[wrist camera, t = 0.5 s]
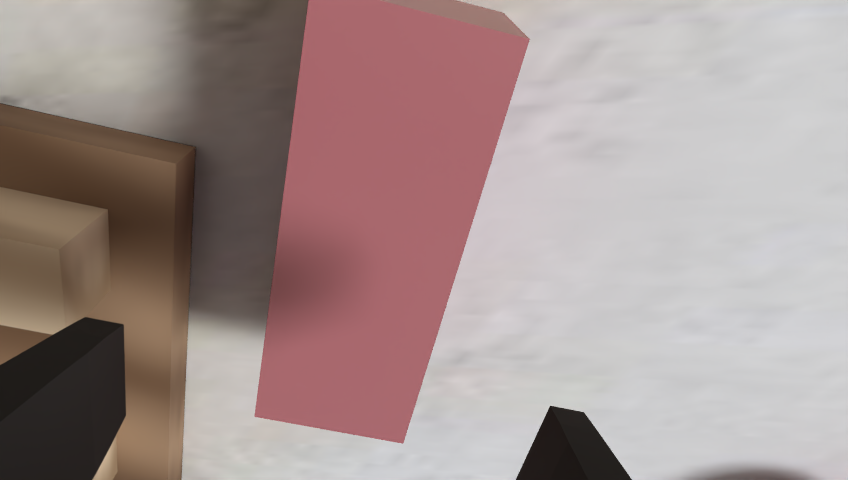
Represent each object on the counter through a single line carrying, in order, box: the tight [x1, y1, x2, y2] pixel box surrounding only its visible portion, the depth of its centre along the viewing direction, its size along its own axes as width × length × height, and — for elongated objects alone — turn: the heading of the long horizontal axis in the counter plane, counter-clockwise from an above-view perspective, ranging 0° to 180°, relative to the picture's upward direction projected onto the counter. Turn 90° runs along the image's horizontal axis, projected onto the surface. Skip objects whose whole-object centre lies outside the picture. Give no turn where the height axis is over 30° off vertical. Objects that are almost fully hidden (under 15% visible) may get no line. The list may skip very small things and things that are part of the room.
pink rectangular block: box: [255, 0, 530, 443], centre depth 16 cm, size 12×4×5 cm, turn 167°
